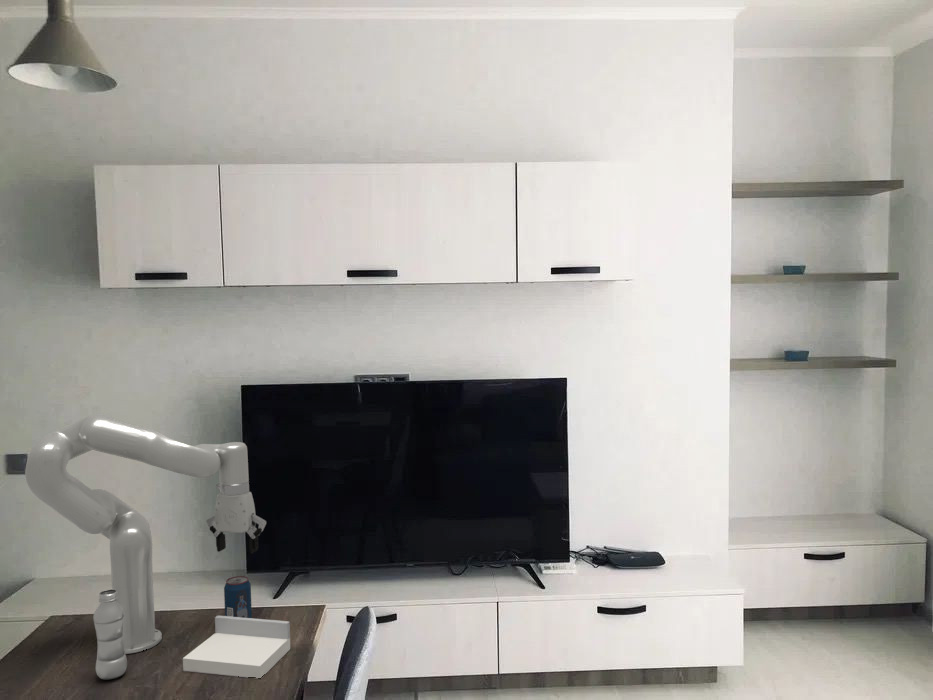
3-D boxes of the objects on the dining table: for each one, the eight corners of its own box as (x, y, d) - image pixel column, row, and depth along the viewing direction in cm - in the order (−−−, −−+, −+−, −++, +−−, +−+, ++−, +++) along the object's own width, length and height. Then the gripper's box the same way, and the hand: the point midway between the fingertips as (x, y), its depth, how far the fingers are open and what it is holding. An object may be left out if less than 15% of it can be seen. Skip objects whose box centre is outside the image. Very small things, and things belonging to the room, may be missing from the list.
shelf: (183, 670, 170) (182, 641, 169) (218, 642, 184) (217, 615, 184) (260, 678, 165) (259, 649, 165) (290, 648, 180) (289, 621, 180)
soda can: (236, 616, 200) (235, 573, 200) (257, 619, 198) (255, 576, 197) (219, 626, 194) (218, 582, 193) (240, 630, 191) (239, 585, 191)
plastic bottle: (115, 684, 164) (111, 598, 163) (89, 682, 165) (85, 596, 164) (133, 670, 170) (130, 587, 169) (108, 668, 171) (105, 586, 170)
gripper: (197, 491, 192) (201, 554, 193) (256, 493, 188) (259, 557, 189) (213, 484, 199) (216, 545, 200) (270, 486, 196) (273, 547, 197)
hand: (237, 550), depth 195 cm, fingers open, 9 cm apart
